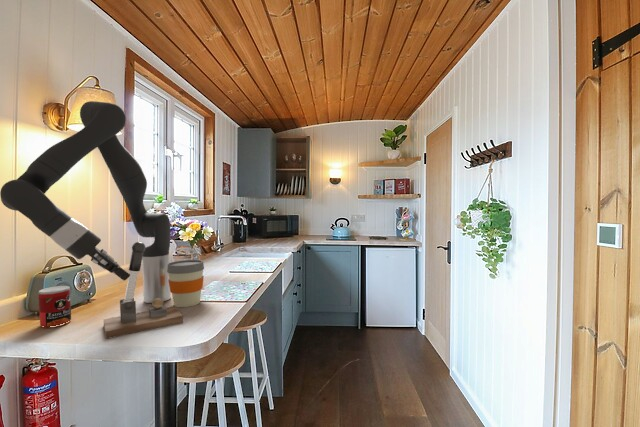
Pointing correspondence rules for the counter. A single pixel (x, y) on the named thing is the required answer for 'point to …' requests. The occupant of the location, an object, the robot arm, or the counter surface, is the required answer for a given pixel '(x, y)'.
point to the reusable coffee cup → (186, 282)
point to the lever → (134, 270)
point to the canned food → (54, 306)
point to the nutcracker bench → (141, 318)
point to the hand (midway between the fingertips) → (127, 277)
